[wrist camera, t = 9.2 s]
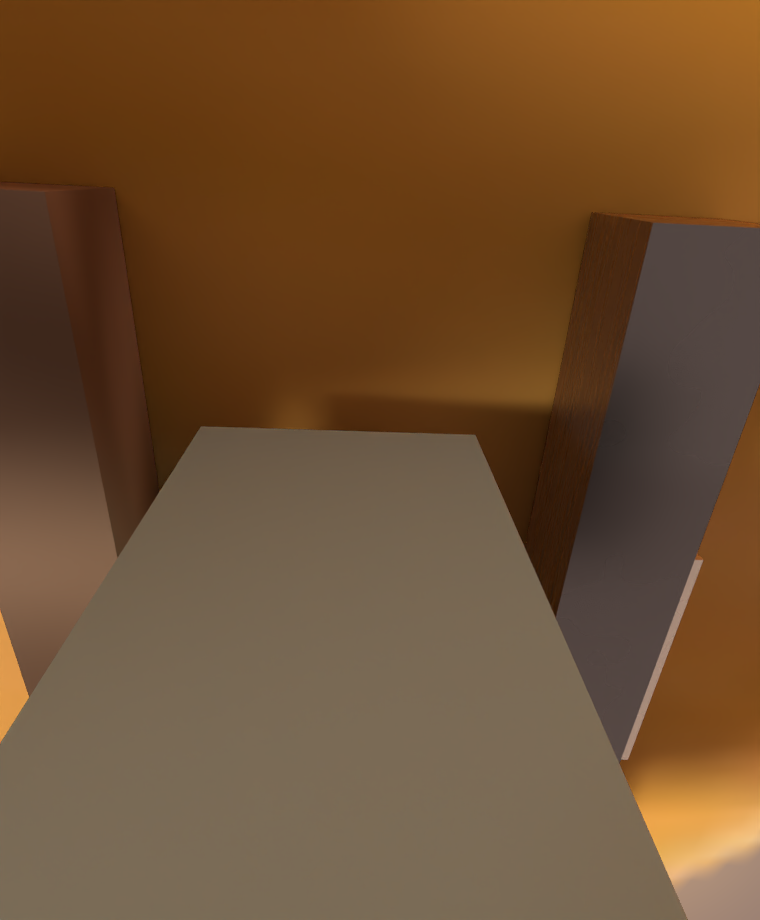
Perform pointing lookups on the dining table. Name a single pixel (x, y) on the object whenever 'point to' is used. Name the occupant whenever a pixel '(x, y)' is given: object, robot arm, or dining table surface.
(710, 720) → the dining table surface
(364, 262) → the dining table surface
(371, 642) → the box
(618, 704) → the rail
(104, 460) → the shelf ledge
